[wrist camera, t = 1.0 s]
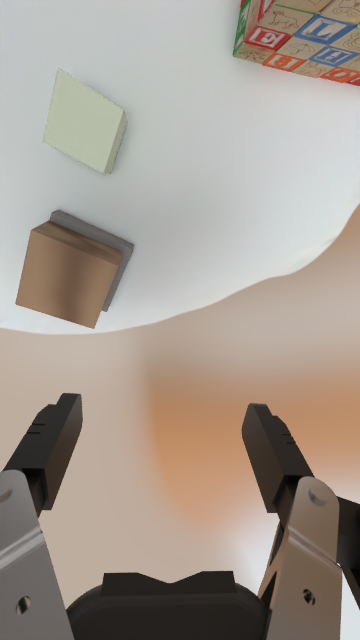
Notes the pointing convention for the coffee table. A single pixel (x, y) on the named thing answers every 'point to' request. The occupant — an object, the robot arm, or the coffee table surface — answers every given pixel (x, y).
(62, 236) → the walnut block
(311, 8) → the stack of blocks
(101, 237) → the charcoal slab
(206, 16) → the coffee table surface
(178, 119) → the coffee table surface
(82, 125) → the sage block
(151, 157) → the coffee table surface
